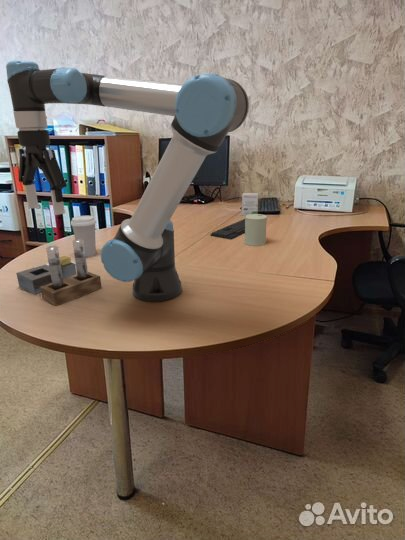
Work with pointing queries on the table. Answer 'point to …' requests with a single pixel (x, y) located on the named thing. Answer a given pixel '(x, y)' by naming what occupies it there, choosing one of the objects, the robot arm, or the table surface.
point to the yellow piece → (65, 261)
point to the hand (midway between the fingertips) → (46, 211)
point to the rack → (70, 289)
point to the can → (255, 229)
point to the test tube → (80, 259)
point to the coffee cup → (85, 233)
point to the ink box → (249, 203)
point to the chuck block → (41, 277)
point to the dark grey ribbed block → (230, 230)
